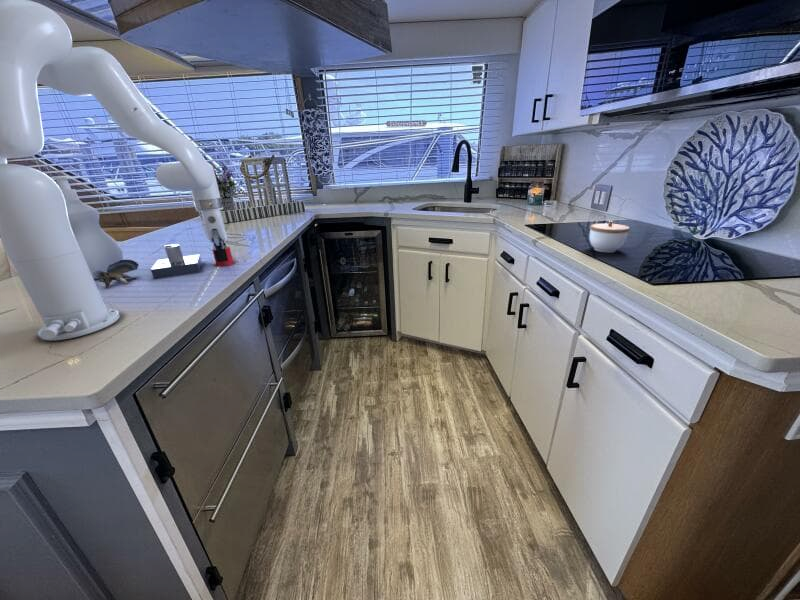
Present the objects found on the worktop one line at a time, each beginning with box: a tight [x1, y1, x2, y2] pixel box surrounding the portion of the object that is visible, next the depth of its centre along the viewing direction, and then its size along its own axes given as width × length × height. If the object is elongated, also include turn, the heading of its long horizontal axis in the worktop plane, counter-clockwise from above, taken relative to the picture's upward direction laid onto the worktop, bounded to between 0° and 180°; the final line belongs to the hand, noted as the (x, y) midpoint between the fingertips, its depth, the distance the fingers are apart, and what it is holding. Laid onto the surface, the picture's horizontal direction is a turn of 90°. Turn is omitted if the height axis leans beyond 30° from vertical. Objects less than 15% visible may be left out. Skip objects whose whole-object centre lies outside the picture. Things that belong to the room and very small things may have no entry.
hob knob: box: [163, 243, 184, 263], centre depth 101 cm, size 4×4×5 cm
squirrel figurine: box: [93, 259, 139, 289], centre depth 92 cm, size 8×7×9 cm
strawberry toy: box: [211, 245, 234, 267], centre depth 107 cm, size 5×5×6 cm
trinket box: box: [588, 220, 631, 253], centre depth 104 cm, size 11×11×9 cm
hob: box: [150, 254, 203, 280], centre depth 102 cm, size 12×12×3 cm
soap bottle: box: [50, 175, 124, 280], centre depth 96 cm, size 17×12×29 cm
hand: (222, 257), depth 107 cm, fingers open, 9 cm apart
